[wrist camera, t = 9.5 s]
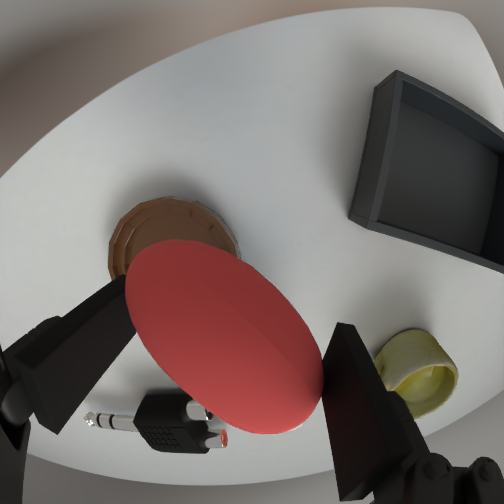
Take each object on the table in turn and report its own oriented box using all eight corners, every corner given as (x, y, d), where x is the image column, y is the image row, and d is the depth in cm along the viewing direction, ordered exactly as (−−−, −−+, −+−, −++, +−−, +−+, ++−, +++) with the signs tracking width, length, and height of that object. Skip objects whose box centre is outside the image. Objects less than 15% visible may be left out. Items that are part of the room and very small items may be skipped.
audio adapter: (226, 460, 31) (94, 447, 34) (231, 433, 36) (105, 429, 39) (198, 412, 28) (60, 404, 31) (206, 384, 33) (75, 385, 36)
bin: (374, 86, 23) (395, 68, 18) (499, 153, 23) (528, 152, 18) (347, 218, 27) (365, 228, 21) (477, 260, 27) (504, 274, 21)
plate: (126, 186, 28) (114, 187, 25) (255, 212, 27) (253, 215, 25) (116, 304, 31) (107, 312, 29) (228, 335, 31) (225, 347, 29)
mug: (461, 327, 27) (476, 388, 19) (418, 374, 33) (419, 431, 25) (387, 296, 29) (390, 363, 21) (349, 351, 35) (339, 412, 27)
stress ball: (280, 202, 12) (164, 186, 7) (366, 388, 10) (310, 495, 5) (202, 255, 15) (92, 269, 9) (273, 409, 13) (191, 481, 8)
